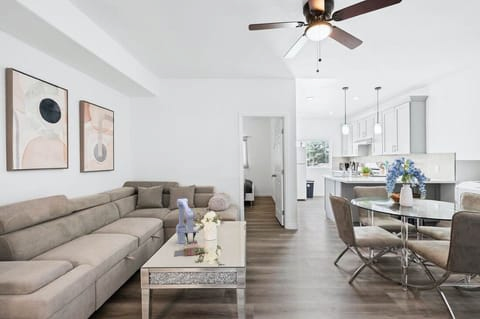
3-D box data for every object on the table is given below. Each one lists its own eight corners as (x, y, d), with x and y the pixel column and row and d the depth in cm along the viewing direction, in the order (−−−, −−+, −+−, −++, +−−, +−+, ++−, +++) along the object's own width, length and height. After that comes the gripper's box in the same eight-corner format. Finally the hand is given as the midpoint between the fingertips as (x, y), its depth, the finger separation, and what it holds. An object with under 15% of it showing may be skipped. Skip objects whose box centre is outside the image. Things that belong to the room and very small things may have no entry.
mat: (174, 251, 232) (174, 250, 232) (206, 248, 238) (206, 248, 238) (174, 256, 218) (174, 256, 218) (207, 253, 224) (207, 253, 224)
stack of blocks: (197, 247, 241) (183, 248, 239) (197, 240, 241) (183, 241, 239) (198, 254, 220) (183, 255, 218) (198, 247, 220) (183, 248, 218)
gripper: (182, 227, 229) (182, 243, 228) (198, 226, 232) (198, 241, 232) (182, 225, 236) (182, 240, 235) (198, 224, 239) (198, 239, 238)
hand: (190, 241), depth 234 cm, fingers open, 4 cm apart
